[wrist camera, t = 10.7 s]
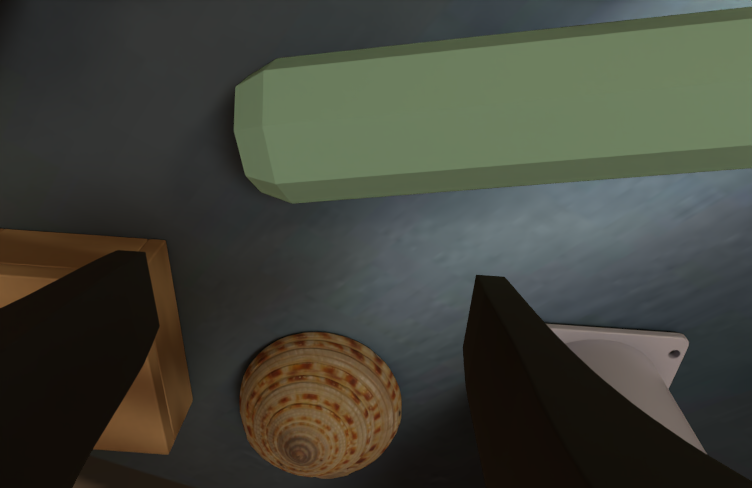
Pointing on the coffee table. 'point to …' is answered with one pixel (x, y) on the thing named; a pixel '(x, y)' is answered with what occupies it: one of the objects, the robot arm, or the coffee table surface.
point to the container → (503, 110)
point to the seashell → (319, 405)
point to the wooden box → (167, 355)
